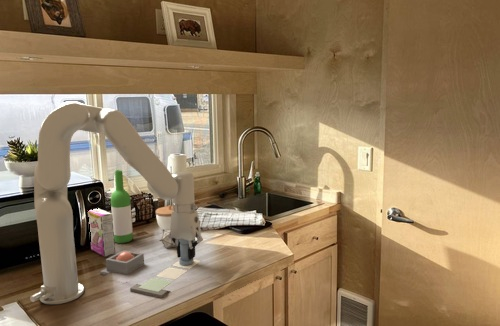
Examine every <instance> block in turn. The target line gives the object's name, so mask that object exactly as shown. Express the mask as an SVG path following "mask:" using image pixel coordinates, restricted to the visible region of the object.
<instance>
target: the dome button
mask: <svg viewBox="0 0 500 326" xmlns="http://www.w3.org/2000/svg"><path fill="white" fill-rule="evenodd" d="M132 258H134V256H133V255H132V254H131V253H129V252H122V253H120V254H119V255H118V257H117V258H116V260H119V261H125V262H127V261H128V260H130V259H132Z"/></svg>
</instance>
